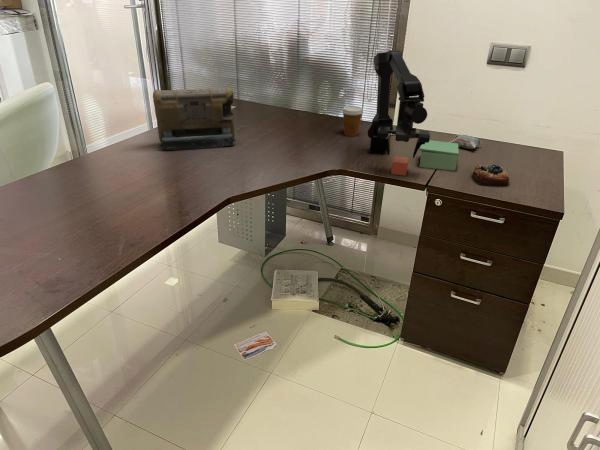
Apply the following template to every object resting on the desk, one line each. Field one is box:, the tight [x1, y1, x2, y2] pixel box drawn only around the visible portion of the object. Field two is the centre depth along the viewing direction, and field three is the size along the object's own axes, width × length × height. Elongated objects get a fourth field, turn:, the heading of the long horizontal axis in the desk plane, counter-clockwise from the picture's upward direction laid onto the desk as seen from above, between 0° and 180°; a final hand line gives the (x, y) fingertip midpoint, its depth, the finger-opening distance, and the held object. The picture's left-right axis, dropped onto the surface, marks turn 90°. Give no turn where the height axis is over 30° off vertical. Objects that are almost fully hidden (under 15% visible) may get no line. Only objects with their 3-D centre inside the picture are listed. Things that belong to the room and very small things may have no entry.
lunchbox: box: [419, 151, 459, 172], centre depth 180 cm, size 14×12×6 cm
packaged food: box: [448, 134, 483, 150], centre depth 197 cm, size 9×12×5 cm
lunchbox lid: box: [419, 139, 460, 156], centre depth 178 cm, size 14×12×1 cm
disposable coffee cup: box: [341, 105, 364, 137], centre depth 210 cm, size 10×10×12 cm
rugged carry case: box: [152, 86, 236, 151], centre depth 192 cm, size 33×14×25 cm, turn 108°
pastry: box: [472, 164, 510, 187], centre depth 166 cm, size 11×12×6 cm
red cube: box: [390, 156, 410, 177], centre depth 172 cm, size 6×6×5 cm
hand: (400, 156), depth 171 cm, fingers open, 9 cm apart
